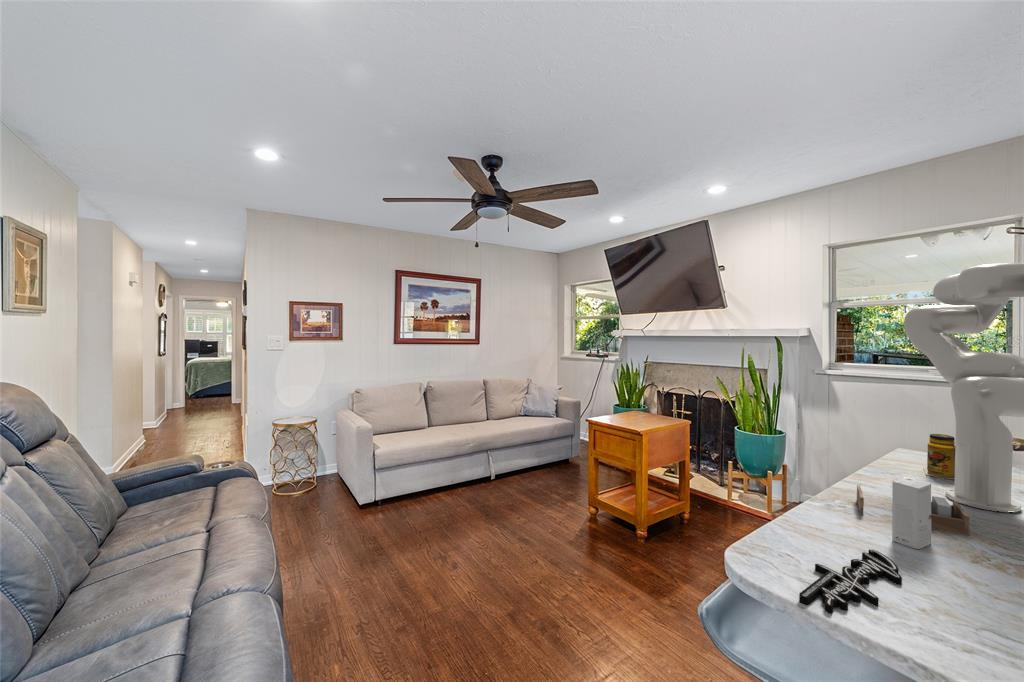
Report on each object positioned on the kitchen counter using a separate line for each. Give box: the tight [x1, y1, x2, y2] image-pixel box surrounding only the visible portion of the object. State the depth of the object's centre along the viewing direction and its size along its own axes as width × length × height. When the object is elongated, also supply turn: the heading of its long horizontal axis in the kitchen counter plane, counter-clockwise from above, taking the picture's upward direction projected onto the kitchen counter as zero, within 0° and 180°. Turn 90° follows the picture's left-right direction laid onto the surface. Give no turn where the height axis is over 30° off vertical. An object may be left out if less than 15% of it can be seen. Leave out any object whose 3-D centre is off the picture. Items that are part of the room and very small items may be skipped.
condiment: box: [923, 433, 956, 480], centre depth 127 cm, size 7×8×12 cm
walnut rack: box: [856, 484, 970, 537], centre depth 97 cm, size 10×18×4 cm, turn 54°
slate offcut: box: [931, 495, 951, 517], centre depth 94 cm, size 6×2×5 cm, turn 144°
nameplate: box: [798, 549, 903, 615], centre depth 72 cm, size 27×2×10 cm
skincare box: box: [891, 477, 932, 550], centre depth 86 cm, size 6×4×12 cm
